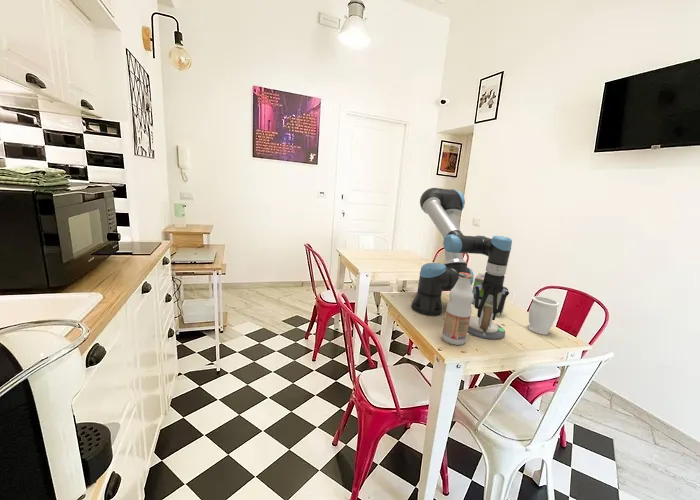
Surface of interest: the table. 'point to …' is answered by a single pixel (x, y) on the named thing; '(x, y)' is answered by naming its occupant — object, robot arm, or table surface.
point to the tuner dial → (484, 322)
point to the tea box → (478, 281)
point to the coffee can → (490, 302)
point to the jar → (542, 314)
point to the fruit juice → (458, 311)
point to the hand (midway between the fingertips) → (484, 325)
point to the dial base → (488, 334)
